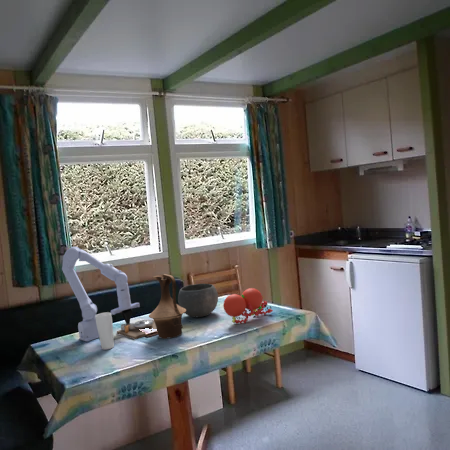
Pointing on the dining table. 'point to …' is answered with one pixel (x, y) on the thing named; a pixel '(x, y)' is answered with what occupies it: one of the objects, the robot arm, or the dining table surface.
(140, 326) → the flange
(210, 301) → the bowl
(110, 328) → the drinking glass
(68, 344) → the dining table surface
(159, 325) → the pitcher
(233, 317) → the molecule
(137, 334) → the board
